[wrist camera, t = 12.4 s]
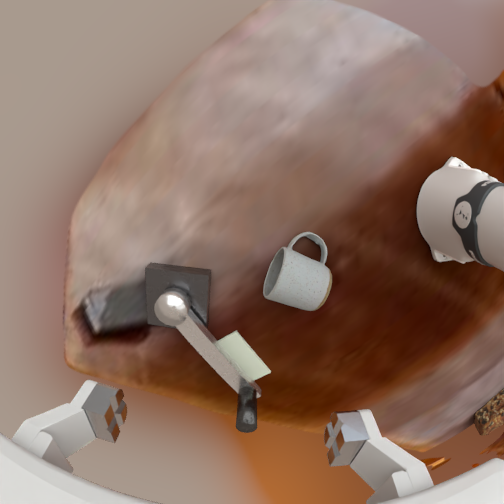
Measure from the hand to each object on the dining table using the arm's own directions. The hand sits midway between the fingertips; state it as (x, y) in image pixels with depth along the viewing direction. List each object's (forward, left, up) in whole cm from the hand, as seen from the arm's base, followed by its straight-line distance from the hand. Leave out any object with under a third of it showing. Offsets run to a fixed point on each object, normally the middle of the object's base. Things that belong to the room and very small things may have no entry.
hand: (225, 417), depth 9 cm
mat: (0, +24, -34) cm, 42 cm away
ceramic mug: (-8, +5, -34) cm, 36 cm away
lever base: (+10, +12, -34) cm, 37 cm away
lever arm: (+4, +19, -31) cm, 37 cm away
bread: (-89, +48, -34) cm, 107 cm away
